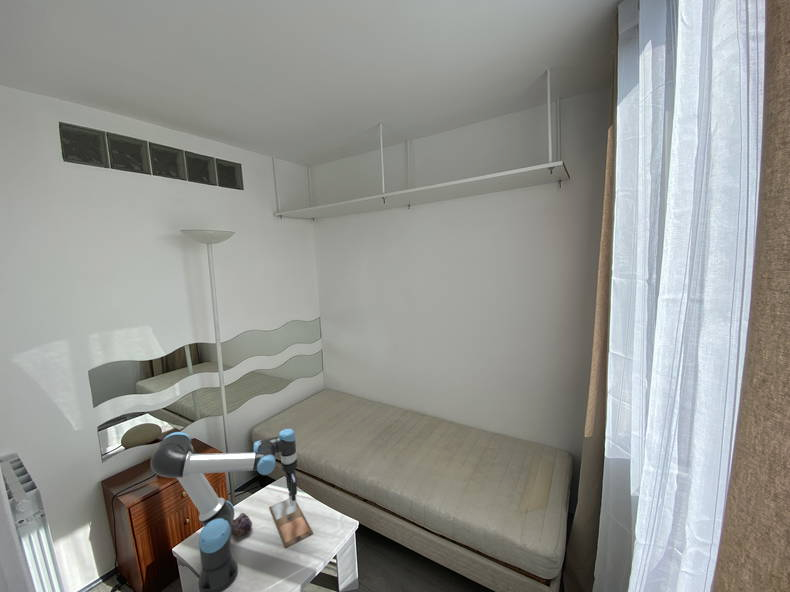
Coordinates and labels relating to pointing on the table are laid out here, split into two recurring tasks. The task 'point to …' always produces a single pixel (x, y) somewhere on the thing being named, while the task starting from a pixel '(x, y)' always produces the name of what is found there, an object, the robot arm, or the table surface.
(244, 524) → the rock
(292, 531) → the board
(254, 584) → the table surface
